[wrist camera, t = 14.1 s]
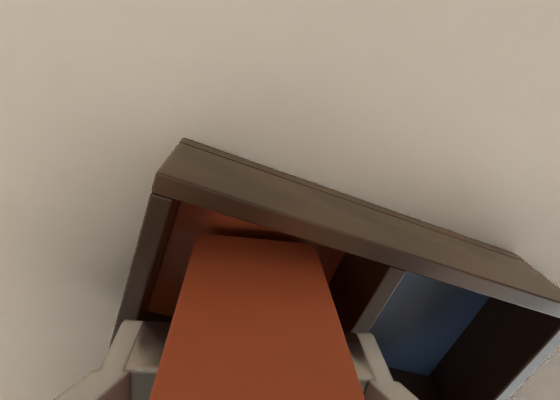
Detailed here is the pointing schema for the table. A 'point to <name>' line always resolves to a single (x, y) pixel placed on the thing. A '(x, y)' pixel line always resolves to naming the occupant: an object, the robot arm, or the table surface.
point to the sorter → (357, 273)
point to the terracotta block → (255, 327)
